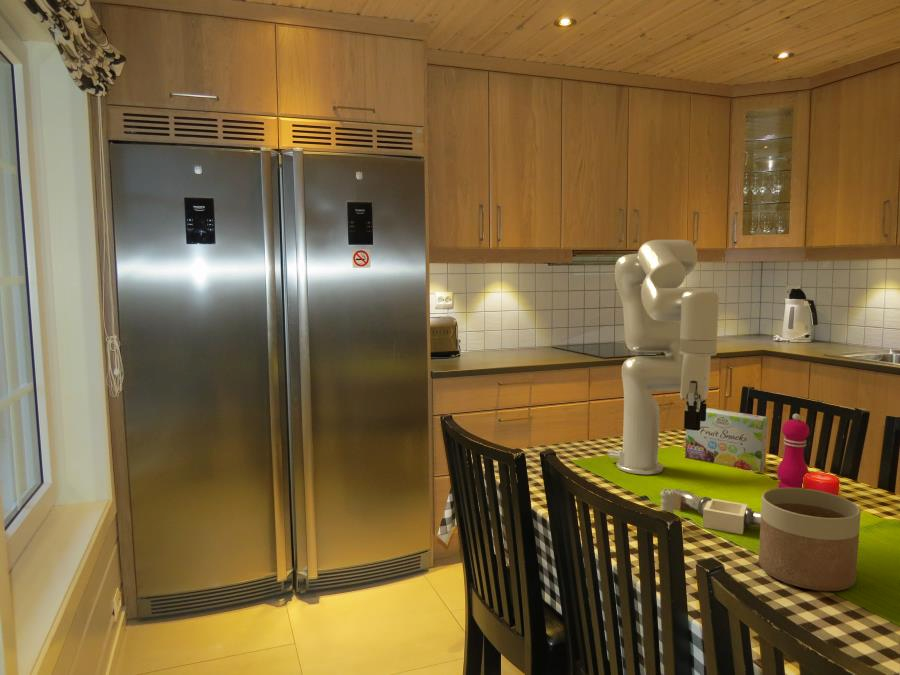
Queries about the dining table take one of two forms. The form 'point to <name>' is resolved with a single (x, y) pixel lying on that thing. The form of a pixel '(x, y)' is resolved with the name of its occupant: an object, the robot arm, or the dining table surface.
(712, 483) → the dining table surface
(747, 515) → the shaft
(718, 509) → the cream open box
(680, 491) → the shaft
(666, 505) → the rook chess piece
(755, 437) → the snack box
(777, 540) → the planter
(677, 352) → the robot arm
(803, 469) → the pepper mill
